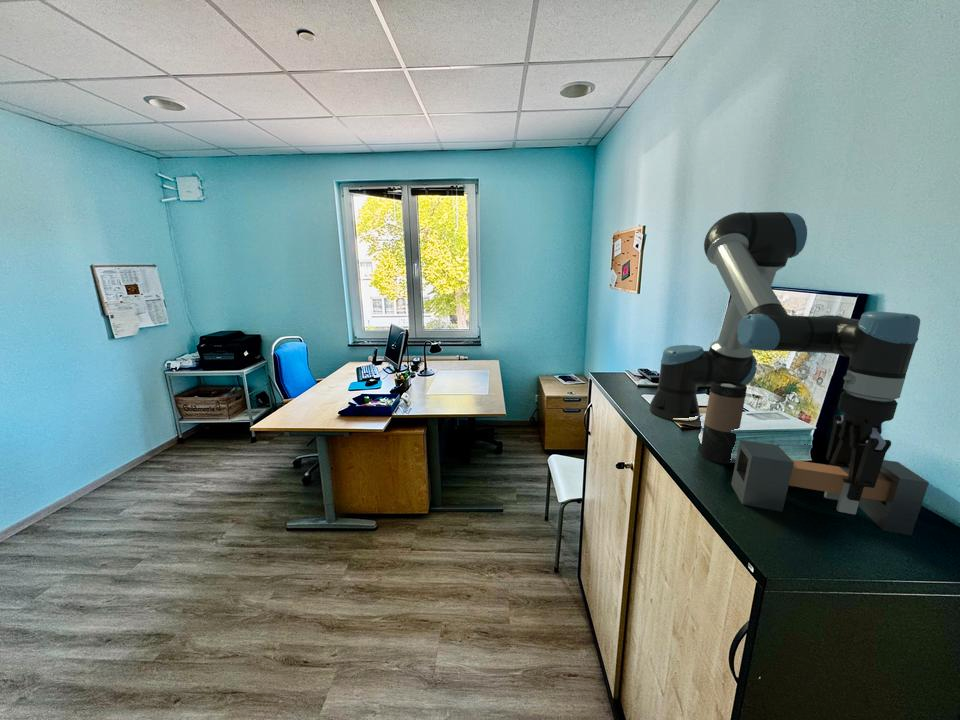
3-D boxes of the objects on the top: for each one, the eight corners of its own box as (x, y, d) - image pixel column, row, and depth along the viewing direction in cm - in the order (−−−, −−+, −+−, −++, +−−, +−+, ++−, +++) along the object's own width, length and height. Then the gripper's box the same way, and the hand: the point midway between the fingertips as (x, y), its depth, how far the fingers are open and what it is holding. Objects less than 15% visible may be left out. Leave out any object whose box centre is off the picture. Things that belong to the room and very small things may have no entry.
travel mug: (738, 465, 94) (753, 389, 90) (705, 462, 96) (718, 387, 91) (725, 452, 101) (739, 380, 97) (694, 448, 103) (706, 378, 98)
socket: (858, 506, 78) (872, 458, 76) (883, 510, 77) (897, 461, 75) (883, 530, 71) (900, 478, 68) (911, 535, 70) (928, 482, 67)
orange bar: (751, 471, 82) (755, 453, 81) (881, 491, 75) (886, 473, 74) (758, 480, 78) (762, 462, 77) (895, 503, 71) (901, 484, 70)
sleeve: (731, 484, 86) (739, 439, 83) (767, 490, 83) (777, 445, 81) (742, 504, 78) (752, 456, 76) (782, 511, 76) (794, 462, 74)
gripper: (821, 380, 80) (797, 479, 85) (872, 407, 64) (839, 526, 69) (866, 385, 77) (839, 486, 83) (930, 413, 61) (891, 536, 67)
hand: (839, 504), depth 76 cm, fingers closed on orange bar, 4 cm apart
